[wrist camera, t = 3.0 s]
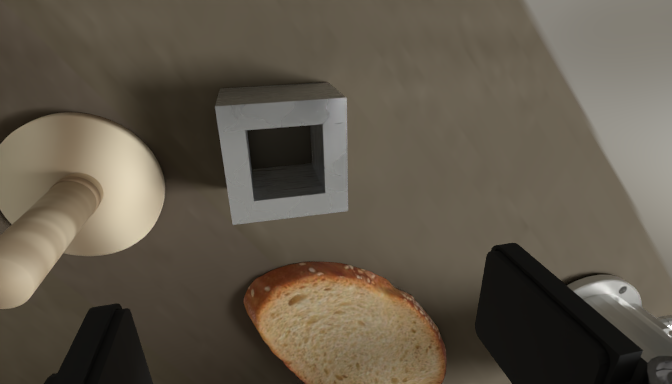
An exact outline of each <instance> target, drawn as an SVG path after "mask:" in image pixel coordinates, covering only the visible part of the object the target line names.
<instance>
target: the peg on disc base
mask: <svg viewBox="0 0 672 384" xmlns="http://www.w3.org/2000/svg"><path fill="white" fill-rule="evenodd" d="M164 199H165V180H164V176H163V172H162V169H161V167H160V165H159V162H158V160H157V159H156V157H155V155H154V154H153V152H152V151H151V150H150V149H149V147H148V146H147V145H146V144H145V143H144V142H143V141H142V140H141V139H140V138H139V137H138V136H136V135H135V134H134V133H133V132H131V131H130V130H128V129H127V128H125V127H123V126H122V125H120V124H118V123H116V122H113V121H111V120H109V119H106V118H103V117H100V116H96V115H92V114H87V113H78V112H63V113H55V114H50V115H46V116H42V117H40V118H38V119H35V120H33V121H31V122H29V123H27V124H25V125H23V126H21V127H20V128H18V129H16V130H15V131H13V132H12V133H11V134H10V135H9V136H7V137H6V138H5V140H4V141H3V142H2V143H1V144H0V210H1V212H2V213H3V215H4V216H5V217H6V219H7V220H8V221H9V222H10V223H11V224H12V225H11V226H10V227H9V228H8V229H7V230H6V231H5V232H4V233H2V234H1V235H0V309H9V308H14V307H17V306H20V305H22V304H23V303H25V302H26V301H27V300H28V299H29V298H30V297H31V296H32V294H33V293H34V292H35V290H36V289H37V288H38V286H39V285H40V284H41V282H42V281H43V279H44V278H45V277H46V275H47V274H48V273H49V271H50V270H51V269H52V267H53V266H54V265H55V263H56V262H57V261H58V259H59V258H60V257H61V255H62V254H63V253H66V254H71V255H79V256H99V255H106V254H111V253H115V252H118V251H121V250H124V249H126V248H128V247H130V246H132V245H134V244H135V243H137V242H138V241H140V240H141V239H142V238H144V237H145V236H146V235H147V234H148V232H149V231H150V230H151V229H152V227H153V226H154V225H155V223H156V221H157V219H158V217H159V215H160V212H161V210H162V207H163V204H164Z"/></svg>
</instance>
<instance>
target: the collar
mask: <svg viewBox="0 0 672 384" xmlns="http://www.w3.org/2000/svg"><path fill="white" fill-rule="evenodd" d="M215 111H216V117H217V124H218V131H219V137H220V144H221V150H222V157H223V164H224V170H225V177H226V183H227V190H228V197H229V203H230V210H231V217H232V223H233V225H235V224H243V223H252V222H260V221H268V220H277V219H285V218H293V217H302V216H310V215H318V214H327V213H335V212H343V211H348V168H347V97H345V96H344V95H343V94H342V93H341V92H339V91H338V90H337V89H336V88H335V87H333V86H332V85H331V84H330V83H329V82H323V83H306V84H289V85H272V86H256V87H239V88H222V89H220V90H219V94H218V97H217V101H216V104H215ZM306 125H310V138H311V158H312V163H309V164H298V165H288V166H277V167H267V168H257V169H252V165H251V157H250V149H249V140H248V132H247V130H255V129H268V128H281V127H293V126H306Z"/></svg>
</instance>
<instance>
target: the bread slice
mask: <svg viewBox="0 0 672 384" xmlns="http://www.w3.org/2000/svg"><path fill="white" fill-rule="evenodd" d="M244 305H245V308H246V310H247V313H248V315H249V317H250V318H251V320H252V322H253V323H254V325H255V327H256V328H257V330H258V332H259V333H260V335H261V337H262V339H263V340H264V342H265V343H266V344H267V345H268V346H269V347H270V349H271V351H272V352H273V353H274V354H275V355H276V356H277V357H278V358H279V359H280V360H282V361H283V363H284V364H285V365H286V366H287V367H288V368H289V369H290V370H291V371H292V372H294V373H295V374H296V376H297V377H298V378H299V379H301V380H302V381H303V382H304V383H305V384H441V383H442V382H443V380H444V377H445V374H446V364H447V359H446V348H445V345H444V342H443V340H442V338H441V335H440V332H439V330H438V327H437V326H436V325H435V323H434V322H433V321H432V319H431V317H430V316H429V315H428V314H427V313H426V312H425V310H424V309H423V308H422V307H421V305H420V304H419V303H417V302H416V300H415V299H414V298H413V296H412V295H410V294H408V293H406V292H404V291H401V290H399V289H397V288H395V287H394V286H392V284H391V283H390V282H389V281H388V280H387V279H385V278H383V277H381V276H378V275H376V274H374V273H372V272H370V271H367V270H364V269H360V268H357V267H354V266H351V265H347V264H342V263H334V262H301V263H296V264H290V265H287V266H283V267H280V268H277V269H274V270H272V271H269V272H268V273H266V274H264V275H263V276H261V277H258V278H256V279H255V280H254V281H253V282H252V283H251V285H250V286H249V287H248V289H247V292H246V294H245V296H244Z"/></svg>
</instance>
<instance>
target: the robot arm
mask: <svg viewBox="0 0 672 384" xmlns="http://www.w3.org/2000/svg"><path fill="white" fill-rule="evenodd" d="M475 329H476V333H477V335H478V337H479V339H480V340H481V341H482V343H483V344H484V346H485V347H486V348H487V350H488V351H489V352H490V354H491V355H492V357H493V358H494V359H495V361H496V362H497V363H498V365H499V366H500V368H501V369H502V370H503V372H504V373H505V374H506V376H507V377H508V378H509V380H510V381H511V383H512V384H672V315H667V316H662V317H659V318H655V317H654V316H653V315H651V314H650V313H649V312H647V311H646V310H645V309H643V308H642V302H641V298H640V295H639V293H638V291H637V290H636V288H634V287H633V286H632V285H630V284H629V283H628V282H626V281H625V280H623V279H621V278H620V277H617V276H613V275H595V276H589V277H585V278H582V279H579V280H576V281H574V282H572V283H570V284H568V285H565V284H564V283H563V282H562V281H561V280H559V279H558V278H557V277H556V276H555V275H554V274H552V273H551V272H550V271H549V270H548V269H546V268H545V267H544V266H543V265H542V264H541V263H539V262H538V261H537V260H536V259H535V258H533V257H532V256H531V255H530V254H529V253H528V252H526V251H525V250H524V249H523V248H522V247H520V246H519V245H518V244H516V243H509V244H502V245H496V246H494V247H493V248H492V250H491V252H488V254H487V257H486V262H485V268H484V274H483V280H482V286H481V292H480V298H479V304H478V310H477V316H476V322H475ZM44 384H153V382H152V379H151V375H150V372H149V369H148V366H147V363H146V359H145V356H144V353H143V350H142V346H141V343H140V340H139V337H138V334H137V330H136V327H135V324H134V321H133V318H132V314H131V312H130V310H129V309H128V308H126V309H122V307H121V306H120V304H111V305H105V306H98V307H92V308H90V309H89V311H88V313H87V315H86V317H85V319H84V321H83V323H82V325H81V327H80V329H79V331H78V333H77V335H76V337H75V339H74V341H73V343H72V345H71V347H70V349H69V351H68V353H67V355H66V357H65V359H64V361H63V363H62V365H61V367H60V370H59V372H58V373H56V374H52V375H51V376H50V377H48V378H47V380H46V381H45V383H44Z"/></svg>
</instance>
